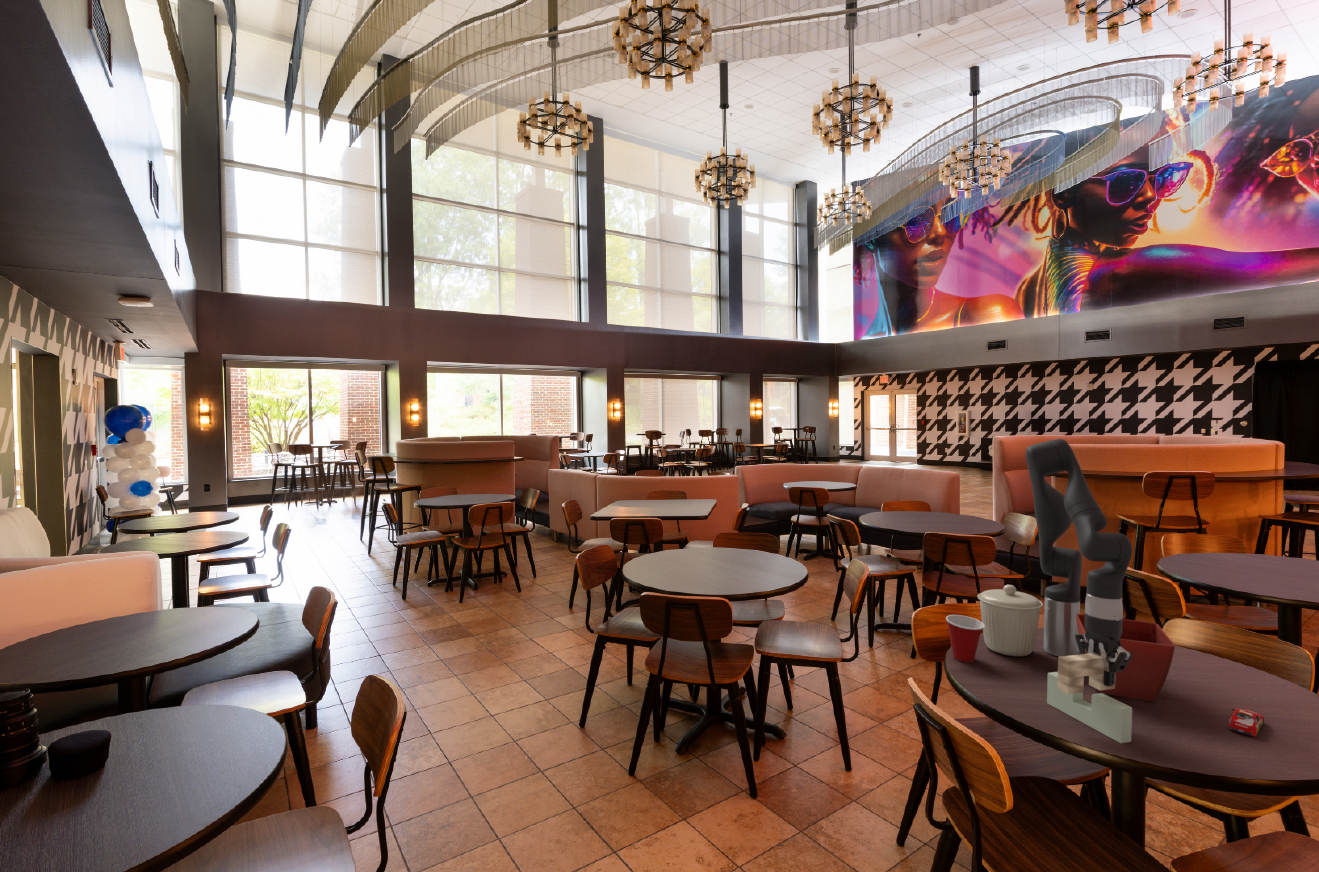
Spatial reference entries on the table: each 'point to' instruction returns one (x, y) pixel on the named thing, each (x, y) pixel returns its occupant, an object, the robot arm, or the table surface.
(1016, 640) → the canister
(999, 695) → the table surface
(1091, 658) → the slotted plate
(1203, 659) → the table surface
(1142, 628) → the plant pot
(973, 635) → the plastic cup
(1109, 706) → the notched board
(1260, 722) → the race car
